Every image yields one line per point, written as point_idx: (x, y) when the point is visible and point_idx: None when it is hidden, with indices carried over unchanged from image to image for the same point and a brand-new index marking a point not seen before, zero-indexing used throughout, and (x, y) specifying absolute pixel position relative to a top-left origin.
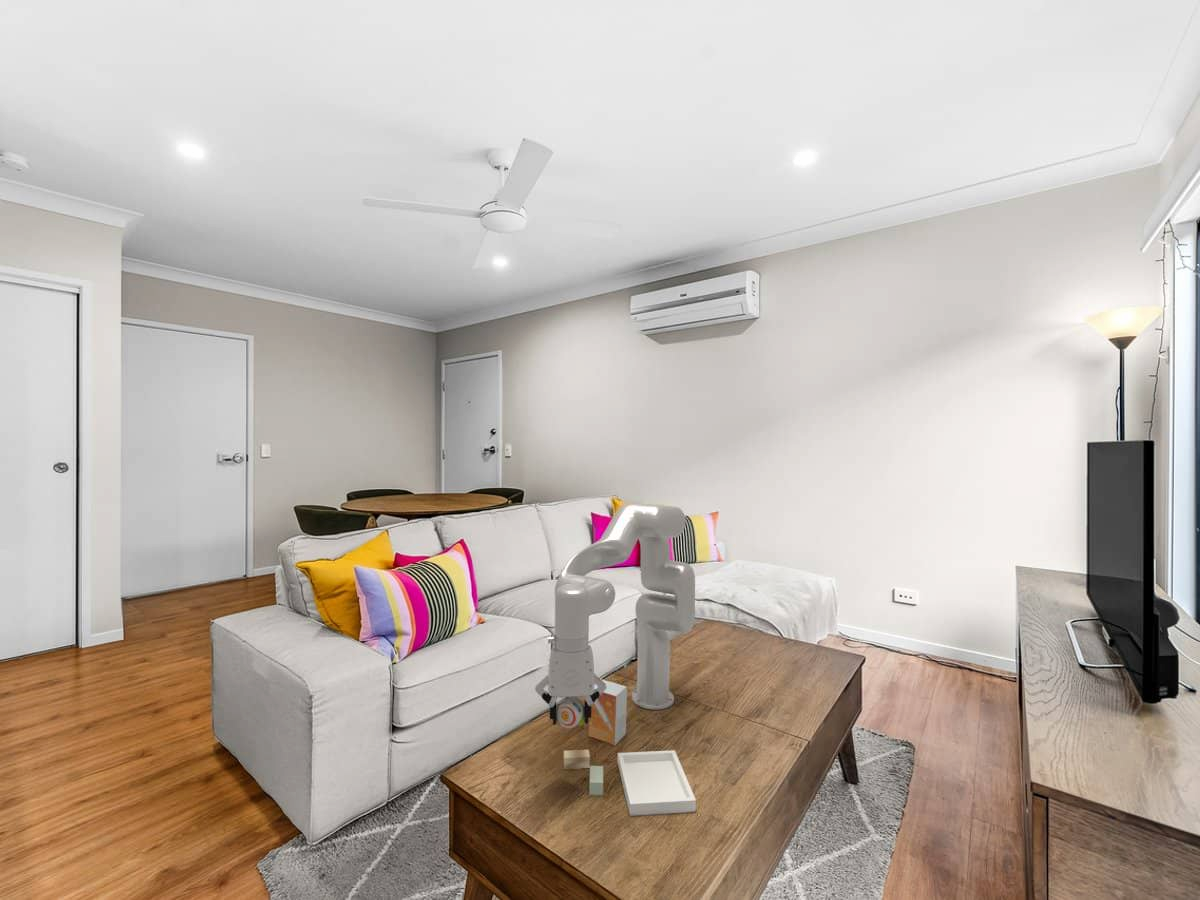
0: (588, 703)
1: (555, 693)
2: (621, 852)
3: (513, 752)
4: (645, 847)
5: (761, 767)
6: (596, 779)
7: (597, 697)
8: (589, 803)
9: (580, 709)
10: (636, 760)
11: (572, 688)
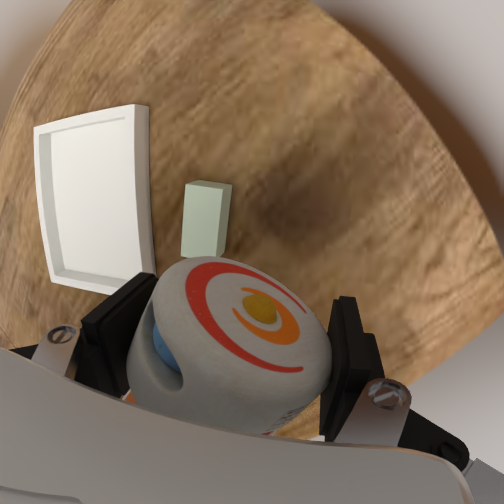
0: (74, 340)
1: (393, 490)
2: (187, 9)
3: (393, 366)
4: (141, 26)
5: None
6: (202, 200)
7: (14, 350)
8: (235, 152)
9: (144, 329)
10: (116, 280)
11: (62, 492)
